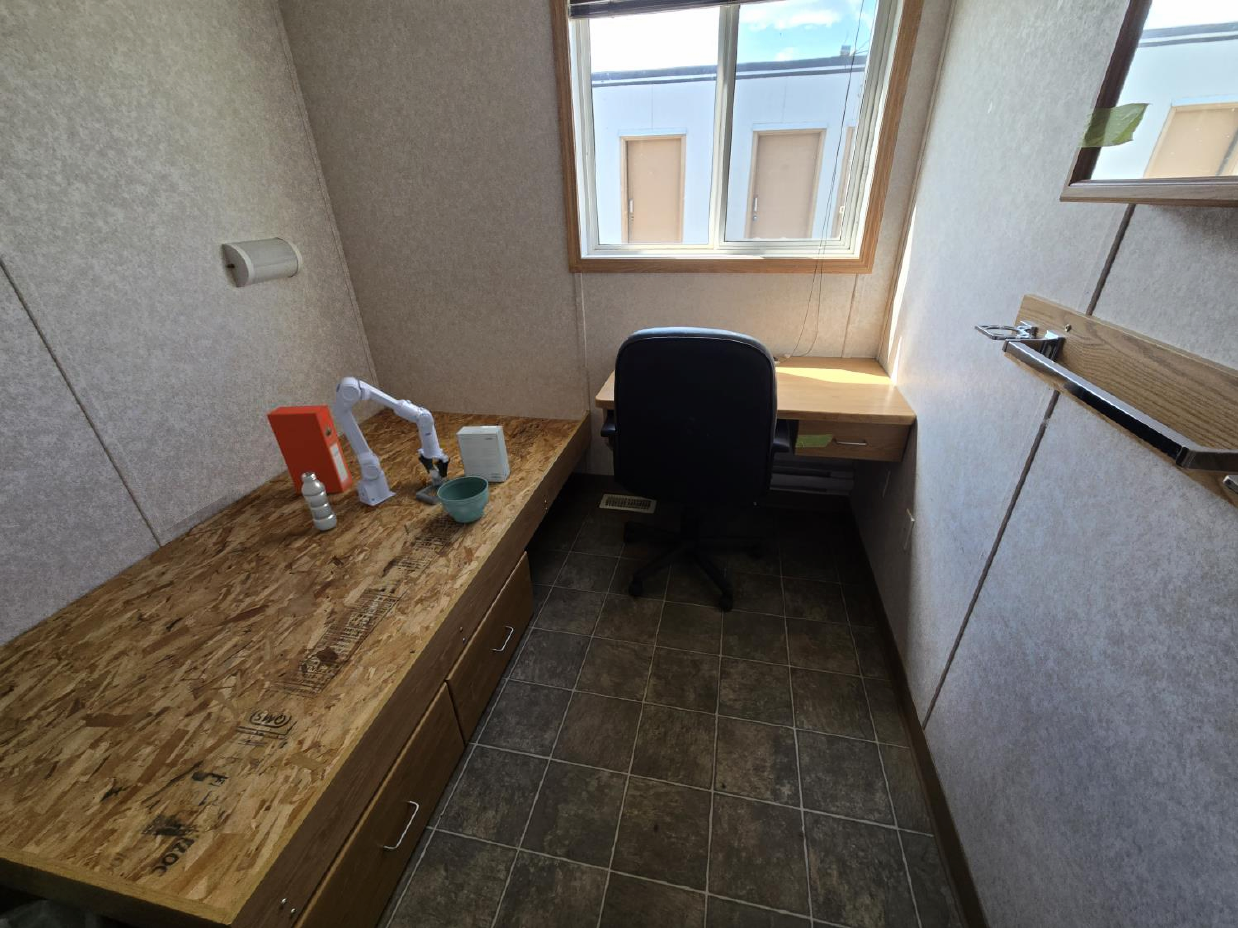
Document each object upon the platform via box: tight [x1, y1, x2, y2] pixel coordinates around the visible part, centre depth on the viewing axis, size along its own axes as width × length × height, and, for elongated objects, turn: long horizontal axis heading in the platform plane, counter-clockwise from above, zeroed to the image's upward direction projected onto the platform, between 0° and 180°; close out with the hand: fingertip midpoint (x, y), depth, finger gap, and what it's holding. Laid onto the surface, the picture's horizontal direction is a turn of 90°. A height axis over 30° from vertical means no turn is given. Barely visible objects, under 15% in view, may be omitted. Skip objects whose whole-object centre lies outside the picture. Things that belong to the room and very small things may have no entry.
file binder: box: [266, 404, 354, 495], centre depth 183 cm, size 8×17×32 cm, turn 89°
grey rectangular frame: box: [414, 481, 444, 506], centre depth 182 cm, size 10×10×2 cm
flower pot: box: [437, 476, 489, 524], centre depth 167 cm, size 16×16×11 cm
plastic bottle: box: [302, 472, 338, 531], centre depth 162 cm, size 6×7×20 cm
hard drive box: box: [455, 425, 511, 483], centre depth 188 cm, size 16×8×20 cm, turn 84°
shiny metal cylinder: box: [429, 465, 447, 485], centre depth 190 cm, size 5×5×6 cm
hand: (437, 474), depth 189 cm, fingers open, 7 cm apart
